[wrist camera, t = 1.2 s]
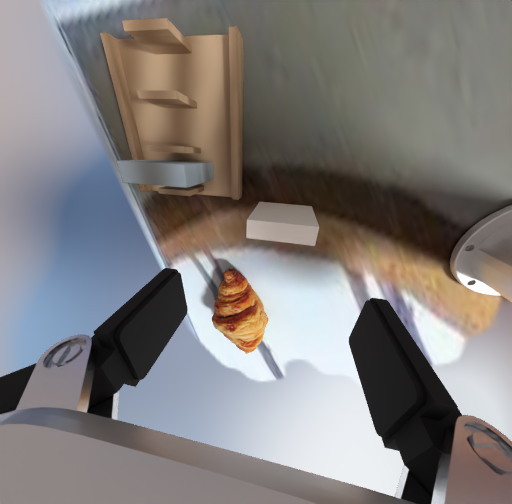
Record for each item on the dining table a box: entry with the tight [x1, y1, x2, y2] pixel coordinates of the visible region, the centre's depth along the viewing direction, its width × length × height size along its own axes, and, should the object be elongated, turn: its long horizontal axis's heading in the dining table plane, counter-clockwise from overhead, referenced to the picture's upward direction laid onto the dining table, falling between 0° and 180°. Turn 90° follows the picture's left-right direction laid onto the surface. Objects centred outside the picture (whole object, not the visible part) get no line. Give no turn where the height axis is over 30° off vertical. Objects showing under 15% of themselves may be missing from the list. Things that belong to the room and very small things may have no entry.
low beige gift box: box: [246, 202, 319, 246], centre depth 21 cm, size 7×2×8 cm, turn 88°
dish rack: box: [100, 18, 243, 200], centre depth 19 cm, size 14×15×8 cm
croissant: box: [212, 269, 268, 354], centre depth 33 cm, size 21×10×8 cm, turn 9°
